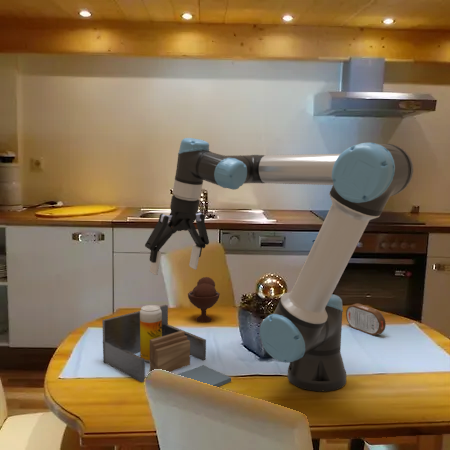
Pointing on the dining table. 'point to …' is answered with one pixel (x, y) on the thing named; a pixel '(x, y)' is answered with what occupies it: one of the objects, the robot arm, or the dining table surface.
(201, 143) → the robot arm
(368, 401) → the dining table surface
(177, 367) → the offcuts
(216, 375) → the mat
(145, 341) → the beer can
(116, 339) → the grey open frame
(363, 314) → the tin
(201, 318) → the ice cream bowl
